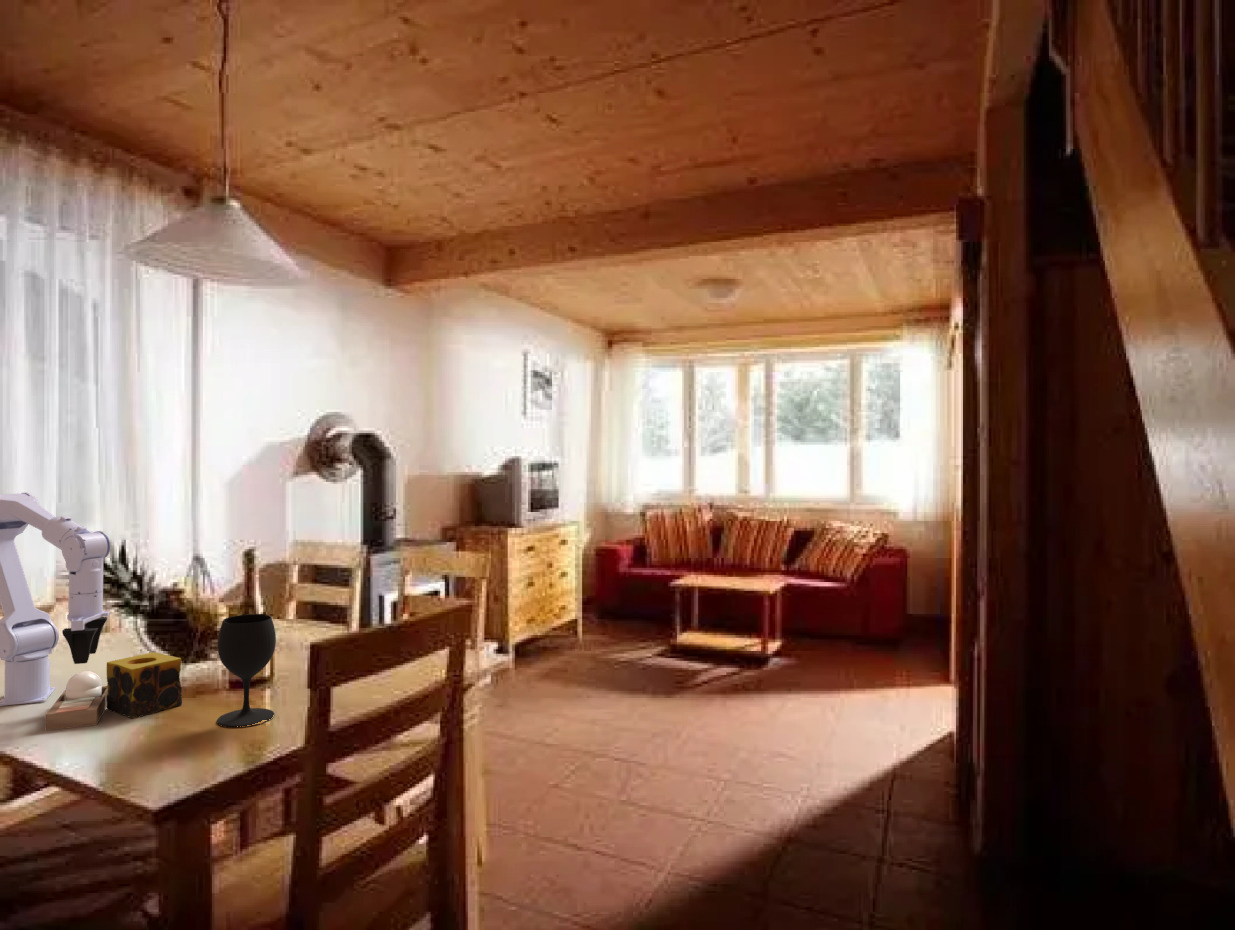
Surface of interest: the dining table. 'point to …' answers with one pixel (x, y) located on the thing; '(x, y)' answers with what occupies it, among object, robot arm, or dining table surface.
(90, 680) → the dome button
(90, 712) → the brown shallow box
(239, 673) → the wine glass
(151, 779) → the dining table surface
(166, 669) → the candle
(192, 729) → the dining table surface
